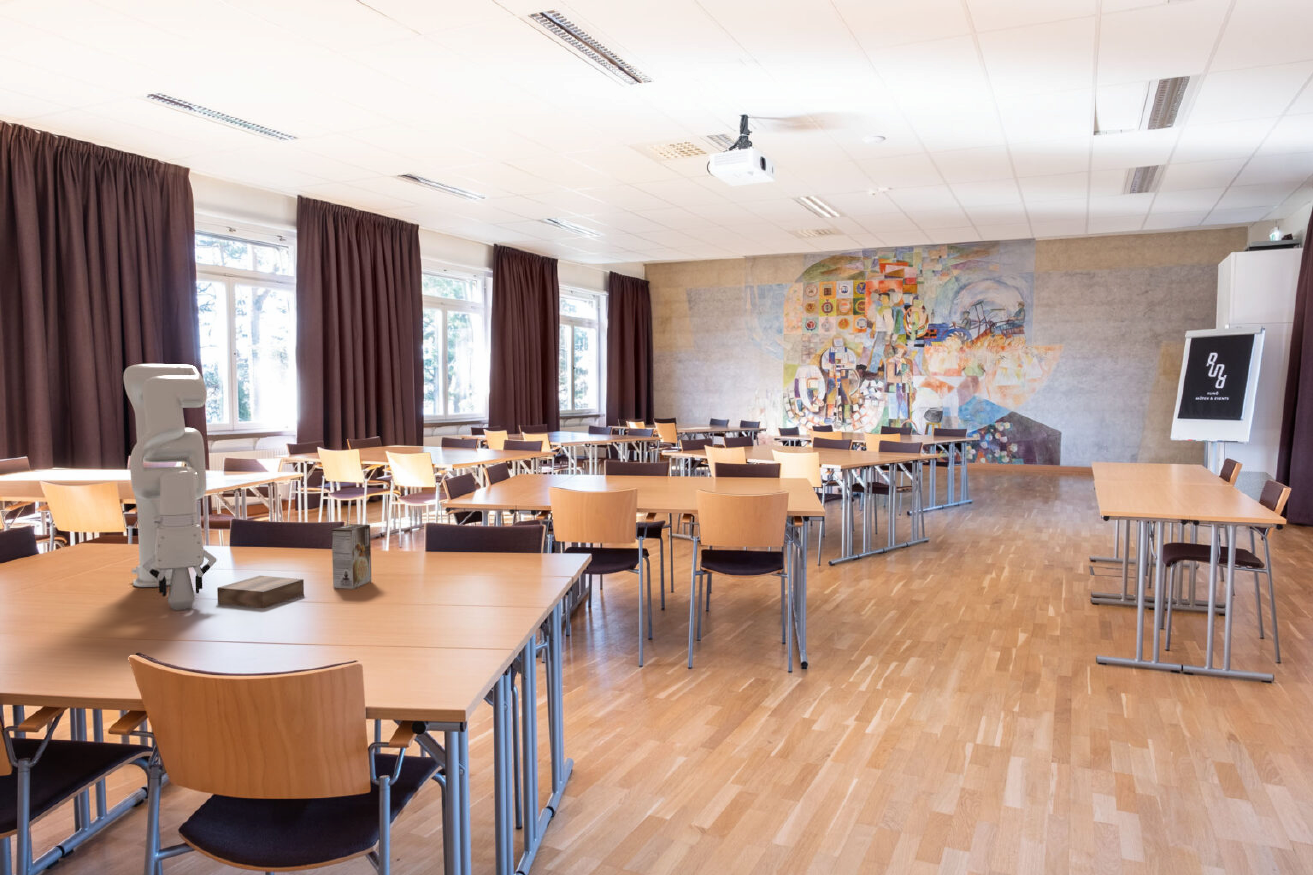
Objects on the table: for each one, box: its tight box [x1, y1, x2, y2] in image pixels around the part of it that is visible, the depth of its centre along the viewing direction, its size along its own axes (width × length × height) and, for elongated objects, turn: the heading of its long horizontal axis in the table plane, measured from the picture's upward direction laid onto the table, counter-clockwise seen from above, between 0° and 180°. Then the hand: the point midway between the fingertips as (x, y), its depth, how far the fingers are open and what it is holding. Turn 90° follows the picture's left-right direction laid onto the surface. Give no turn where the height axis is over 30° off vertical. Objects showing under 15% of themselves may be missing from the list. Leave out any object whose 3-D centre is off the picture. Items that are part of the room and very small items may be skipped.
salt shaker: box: [167, 568, 196, 611], centre depth 202 cm, size 6×6×13 cm
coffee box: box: [331, 523, 373, 590], centre depth 226 cm, size 9×6×16 cm
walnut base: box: [216, 575, 305, 609], centre depth 211 cm, size 14×14×4 cm
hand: (181, 593), depth 202 cm, fingers open, 6 cm apart
